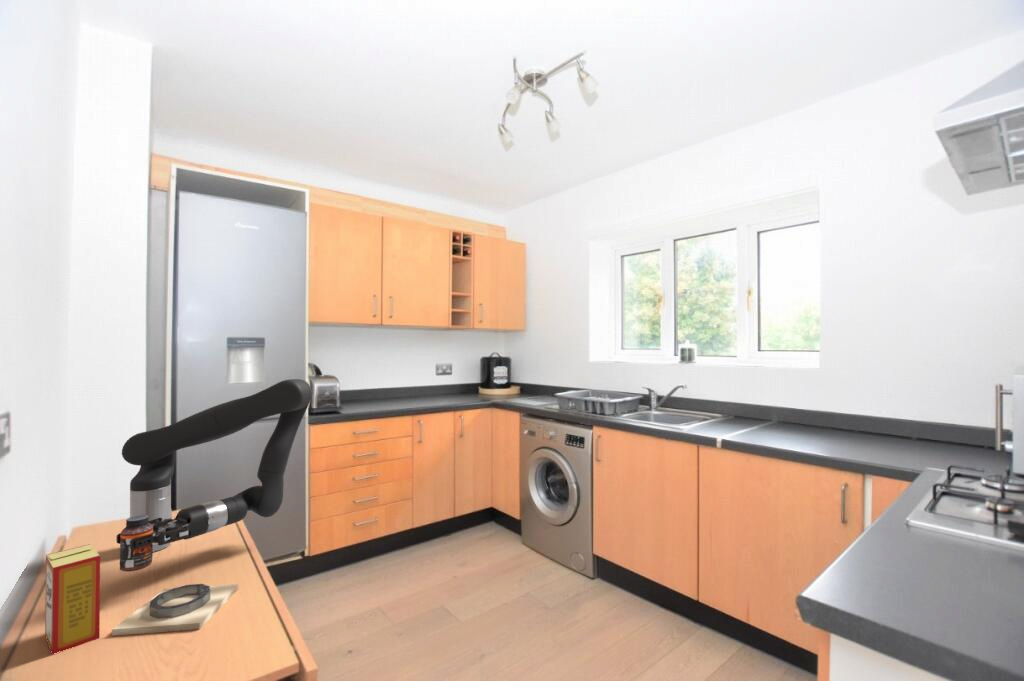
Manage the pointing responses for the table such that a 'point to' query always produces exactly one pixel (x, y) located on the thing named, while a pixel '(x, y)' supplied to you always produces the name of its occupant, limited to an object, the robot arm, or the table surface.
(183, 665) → the table surface
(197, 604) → the ring collar
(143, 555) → the supplement bottle
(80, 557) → the baking soda box
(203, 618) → the birch board
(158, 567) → the table surface
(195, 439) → the robot arm
